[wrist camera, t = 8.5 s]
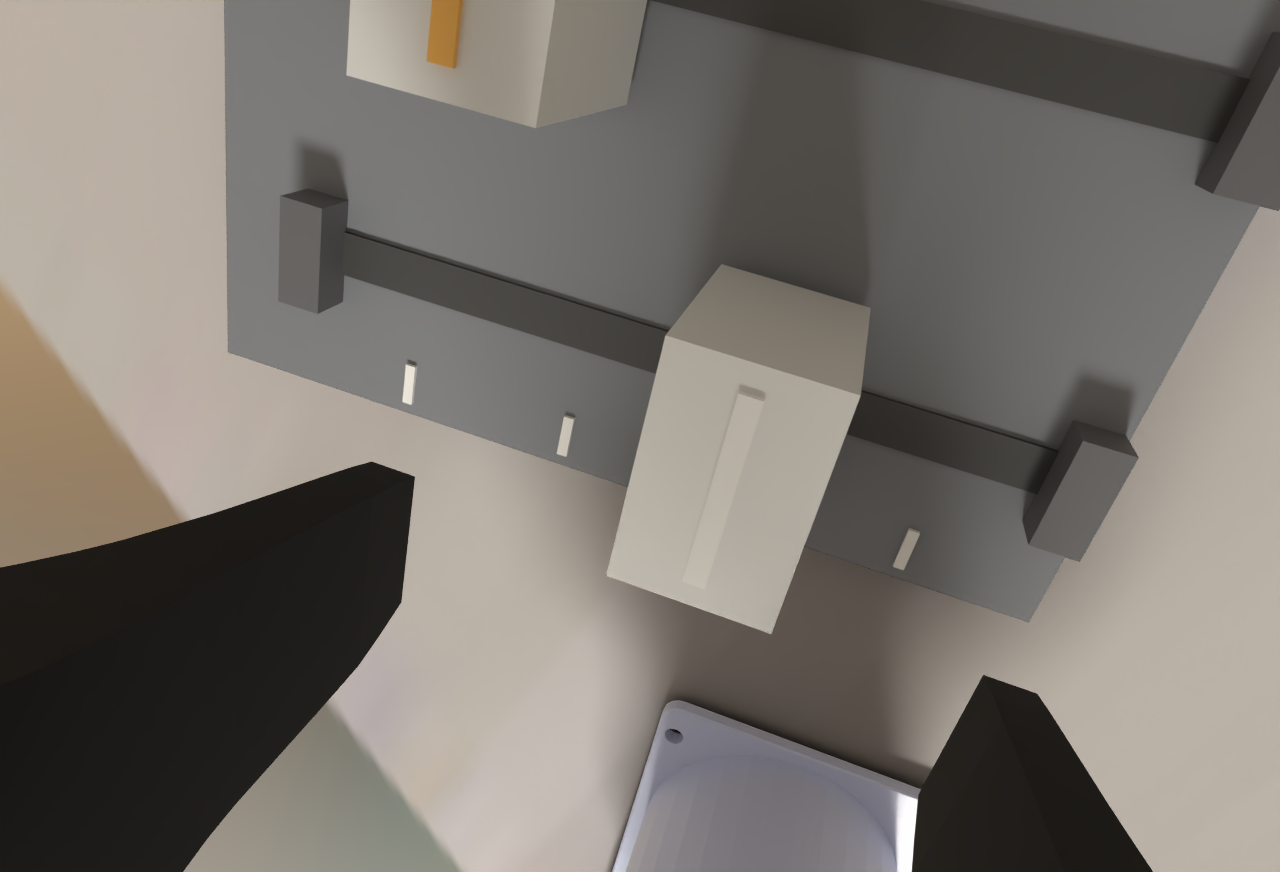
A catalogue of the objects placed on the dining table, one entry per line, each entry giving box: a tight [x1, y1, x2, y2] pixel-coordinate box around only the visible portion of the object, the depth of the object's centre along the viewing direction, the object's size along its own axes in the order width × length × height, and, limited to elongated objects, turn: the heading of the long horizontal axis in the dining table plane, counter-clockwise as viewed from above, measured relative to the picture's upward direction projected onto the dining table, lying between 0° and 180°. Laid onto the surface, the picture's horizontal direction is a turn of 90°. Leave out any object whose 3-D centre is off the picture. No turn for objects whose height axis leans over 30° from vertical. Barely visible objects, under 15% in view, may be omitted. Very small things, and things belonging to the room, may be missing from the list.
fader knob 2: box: [606, 264, 871, 634], centre depth 16 cm, size 5×3×5 cm, turn 167°
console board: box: [224, 0, 1280, 622], centre depth 17 cm, size 14×20×2 cm
